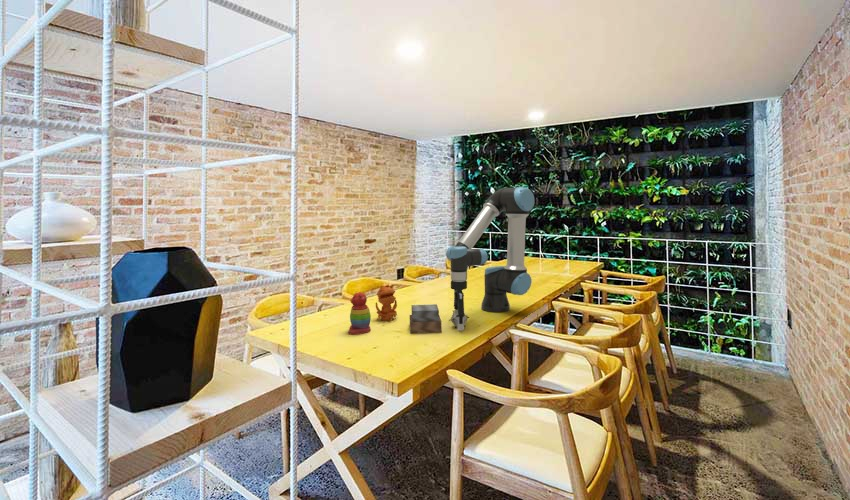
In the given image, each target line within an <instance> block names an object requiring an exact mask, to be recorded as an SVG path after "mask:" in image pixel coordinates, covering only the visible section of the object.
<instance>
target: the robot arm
mask: <svg viewBox="0 0 850 500" xmlns="http://www.w3.org/2000/svg"><path fill="white" fill-rule="evenodd" d="M534 206H535V195H534V192H532V190H531V189H529V188H528V187H524V186H518V187H516V186H515V187H501V188H500V189H497V190H496V191H494V193H492V194H491V195H490V196H489V197H488V198H487V199H486V201H485V202H484V203H483V205H482V207H483V208H482V209H481V211H479V213H478V215H477V216H476V217H475V218H474V220H473V221H472V223H471V224H470V225H469V227H468V228H467V229H466V231H465V232H464V233H463V235H461V238H459V240H457V242H456V244H455V246H454V245H453V246H450V247H448V248H447V249H446V252H445V258H446V259H447V260H448V261H449V262H450V273H449V276H450V280H451V281H450V289H451V290H453V293H454V294H453V298H454V299H453V307H454V310H453V311H454V312H455V311H458V315H457V317H458V327H457V331H465V329H464V328H465V327H464V316H465V315H466V313H465V302H464V297H465V295H464V294H465V293H464V291H463V290H466V289H467V288H468V267H475V266H481V265H484V264H486V263H487V261H488V260H489V258H488V253H487V251H486V250H485V249H483V248H476V249H475V248H474V246H475V245H476V243H477V242H478V241H479V240H480V238H481V236H482V235H483V234H484V233H485V231H486V230H487V228H488V227H489V225H491V223H492V222H493V220H494V219H495V217H498V216H499V215H500V214H501V213H502V212H505V216H507V220H508V221H507V249H506V250H507V254H506V256H507V257H506V265H500V266H499V265H498V266H497V265H496V266H490V267H486V268H485V269H484V275H483V276H484V295H483V299H482V300H481V310H483V311H486V312H489V313H504V312H508V311H510V310H509V309H511V308H510V302H509V301H510V300H509V299H508V295H507V294H511V295H514V296H523V295H525V294H526V293H528V291H529V290H530V288H531V287H532V282H533V281H532V277H531V275H530V274H529V273H528V268H527V267H526V266H525V252H526V251H525V250H526V249H525V246H526V244H525V243H526V223H527V222H526V220H527V217H529V215H530V211H531V210H532V209H534V208H533V207H534ZM460 313H462V314H460ZM464 313H465V314H464Z"/></svg>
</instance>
